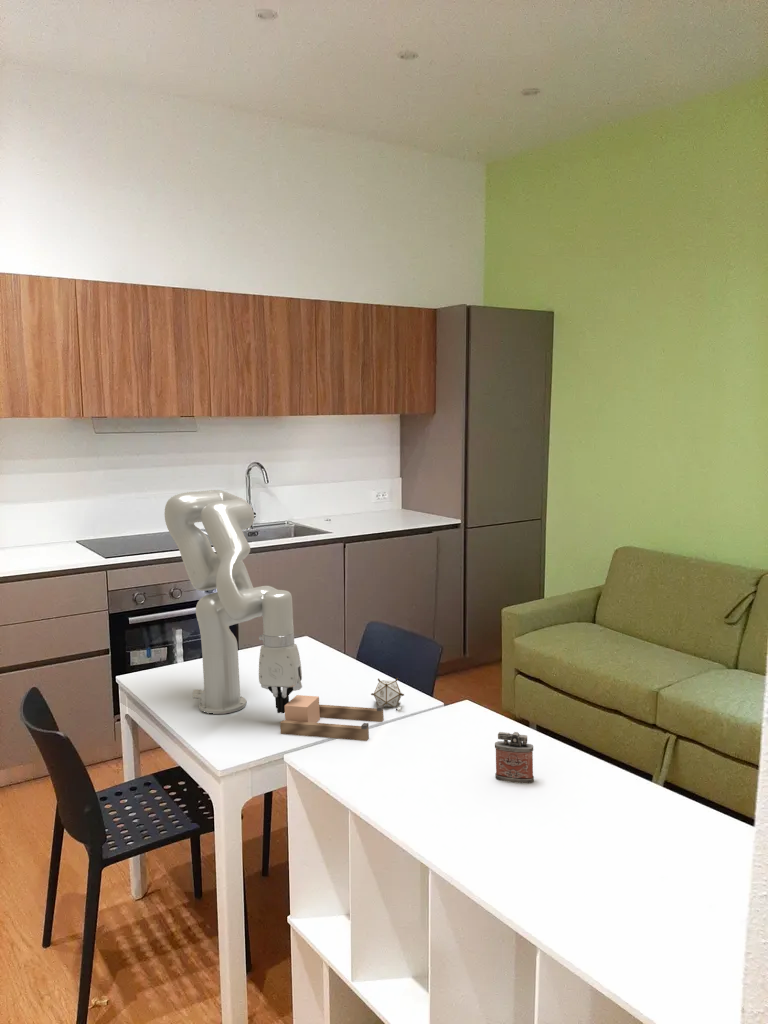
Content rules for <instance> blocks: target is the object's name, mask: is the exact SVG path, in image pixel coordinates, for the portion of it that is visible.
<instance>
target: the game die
mask: <svg viewBox="0 0 768 1024" xmlns="http://www.w3.org/2000/svg"><path fill="white" fill-rule="evenodd" d="M398 679H399V678H397V677H396V679H395V680H381V679H380V678H377V681H378V683H377V686H376V687H375V690H374V692H373V693H370V695H371V696H373V697H374V699H375V701H376V703H377V707H378V706H379V705H381V706H383V708H395V707H396V709H395V710H396V711H399V710H398V708H397V707H398V705H399V702H400V700H401V698H402V697H403V696H405V694H404V693H403V692H402V691H401V690H400V687H399V684H398V683H397V682H398Z"/></svg>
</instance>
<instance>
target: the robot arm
mask: <svg viewBox="0 0 768 1024" xmlns="http://www.w3.org/2000/svg"><path fill="white" fill-rule="evenodd" d="M254 520H255V514H254V510H253V508H252V506H251V504H249V502H247V501H246V500H245V499H243V498H242V497H239V496H237V495H234V494H232V493H229V492H227V491H224V490H220V489H211V490H199V491H189V492H188V491H187V492H182V493H177V494H175V495H173V496H171V497H170V498H169V499H168V500H167V502H166V503H165V506H164V522H165V524H166V528H167V530H168V533H169V535H170V536H171V538H172V539H173V541H174V543H175V544H176V546H177V548H178V550H179V554H180V557H181V559H182V562H183V564H184V567H185V568H184V569H185V571H186V574H187V577H188V579H189V581H190V583H191V585H192V587H193V588H194V590H196V591H200V592H205V591H212V590H216V592H213V593H212V592H211V593H208V594H206V595H204V596H202V597H201V598H200V599H199V600H198V601H197V603H196V606H195V615H196V620H197V623H198V627H199V633H200V640H201V641H200V643H201V653H202V654H201V656H202V657H201V658H202V673H203V687H204V689H193V692H192V698H193V700H200V701H201V702H200V703H199V704H198V705H199V710H200V709H201V710H202V711H205V712H208V713H207V714H209V713H213V714H212V715H222V714H223V715H225V714H229V713H230V714H231V713H235V712H238V711H241V710H242V709H244V708H245V707H246V706H247V699H246V698H245V697H244V696H242V695H241V687H240V686H241V685H240V667H239V649H238V641H237V637H236V636H235V635H234V633H233V632H232V631H231V629H230V626H233V625H237V624H241V623H246V622H249V621H252V620H253V619H255V618H260V617H262V632H263V633H262V634H259V637H258V640H259V641H262V645H261V646H260V651H259V658H258V659H259V660H258V682H259V684H260V687H261V688H262V689H265V690H268V691H269V692H270V693H271V694H272V695H273V696H272V697H274V698H275V700H274V701H275V709H276V712H277V714H285V705H286V704H287V703H288V702H289V701H290V694H291V693H292V692H294V691H295V692H296V691H300V690H301V689H302V688H303V683H302V682H301V681H302V679H303V675H302V674H303V672H302V664H301V656H300V651H299V647H298V646H297V645H298V644H297V643H295V633H294V632H295V631H294V629H295V627H294V609H293V597H292V593H291V592H290V591H289V590H285V589H277V588H275V587H274V586H271V585H262V586H256V587H254V586H253V583H252V580H251V577H250V575H249V572H248V569H247V567H246V564H245V563H244V561H243V560H245V559H246V558H247V557H248V556H249V554H250V553H251V546H250V544H249V542H248V540H247V538H246V537H245V533H244V532H243V530H248V529H249V528H251V527H252V525H253V524H254ZM195 523H202V525H203V528H204V529H205V531H206V533H204V531H202V529H200V528H199V527H197V526H196V525H195ZM206 534H207V535H206ZM212 546H213V548H212ZM213 549H214V550H215V551H214V550H213ZM201 710H200V711H201ZM202 711H201V712H202Z"/></svg>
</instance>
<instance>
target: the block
mask: <svg viewBox="0 0 768 1024" xmlns="http://www.w3.org/2000/svg"><path fill="white" fill-rule="evenodd" d="M319 705H320V697H319V696H317V695H316V696H314V695H302V694H300V695H299V694H298V695H296V696H294V697H293V698H291V700H289V702H288V703H287V704H286V705H285V713H284V720H286V721H300V722H313V723H319V721H320V720H321V718H320V709H319Z"/></svg>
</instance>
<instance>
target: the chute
mask: <svg viewBox="0 0 768 1024" xmlns="http://www.w3.org/2000/svg"><path fill="white" fill-rule="evenodd" d="M319 709H320V719H322V718H323V719H335V720H337V719H338V720H348V721H363V723H362V724H361V725H352V724H351V725H350V724H341V723H340V724H339V723H337V724H336V723H325V722H317V723H313V722H300V721H286V720H285V719H284V720H281V721H280V722H279V723H280V724H279V726H280V729H279V730H280V735H289V736H291V735H292V736H304V737H315V738H328V739H339V740H354V741H365V742H367V741H368V740H369V738H370V736H369V735H370V732H369V726H370V725H369V722H376V723H377V722H378V723H382V722H383V721H384V719H385V718H384V707H383V706H381V705H379V706H378V705H377V707H360V706H347V705H345V706H344V705H331V704H319Z"/></svg>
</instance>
